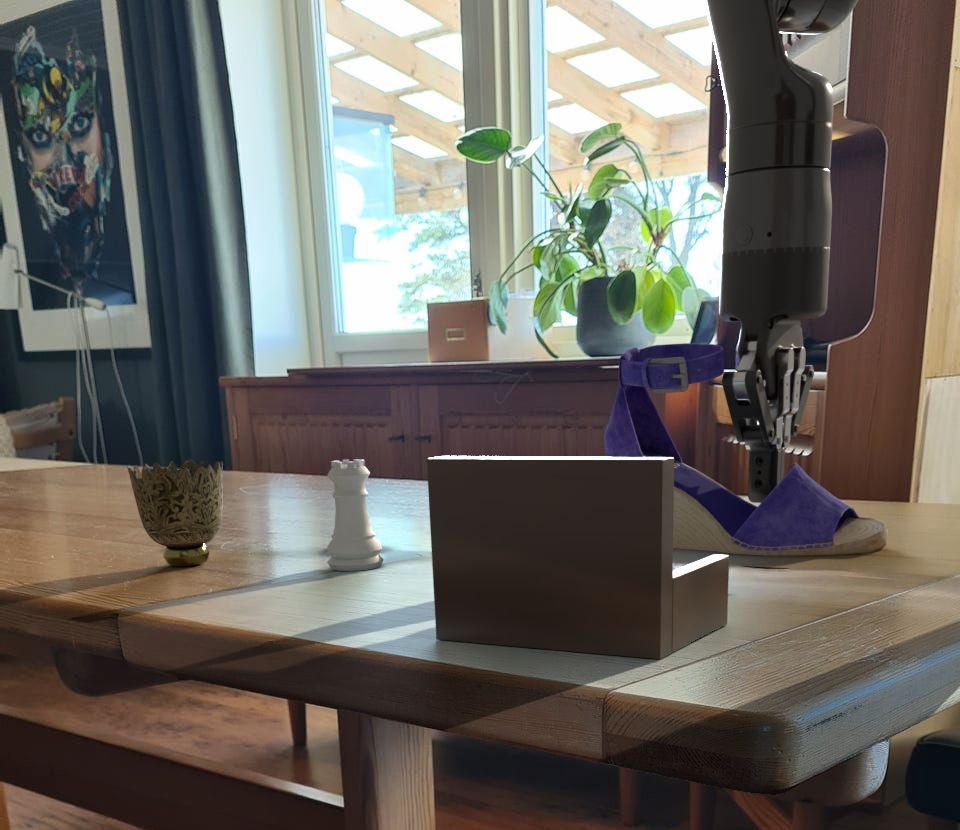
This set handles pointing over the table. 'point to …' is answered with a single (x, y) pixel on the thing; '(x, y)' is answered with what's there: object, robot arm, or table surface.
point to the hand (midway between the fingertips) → (765, 501)
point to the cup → (180, 508)
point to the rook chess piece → (352, 520)
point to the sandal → (705, 503)
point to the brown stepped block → (566, 556)
